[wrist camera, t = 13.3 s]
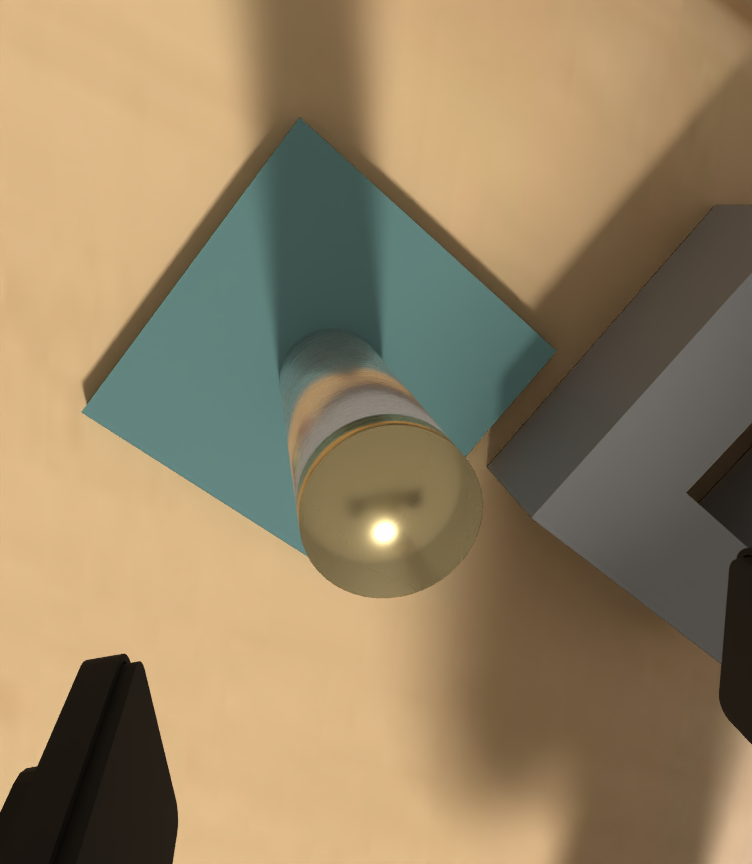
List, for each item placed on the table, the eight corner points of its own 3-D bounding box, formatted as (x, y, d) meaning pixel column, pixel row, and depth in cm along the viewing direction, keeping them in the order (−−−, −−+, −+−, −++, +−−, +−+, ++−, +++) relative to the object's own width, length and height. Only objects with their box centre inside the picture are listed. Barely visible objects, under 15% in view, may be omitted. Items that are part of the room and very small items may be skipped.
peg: (378, 322, 25) (479, 415, 14) (387, 422, 26) (485, 581, 15) (272, 335, 24) (286, 443, 13) (286, 436, 26) (311, 612, 14)
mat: (548, 346, 27) (556, 350, 26) (351, 576, 29) (353, 585, 28) (298, 120, 23) (299, 117, 22) (86, 406, 25) (81, 412, 24)
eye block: (890, 406, 31) (1001, 441, 26) (682, 619, 33) (751, 687, 28) (715, 204, 26) (813, 204, 22) (486, 467, 28) (531, 517, 24)
